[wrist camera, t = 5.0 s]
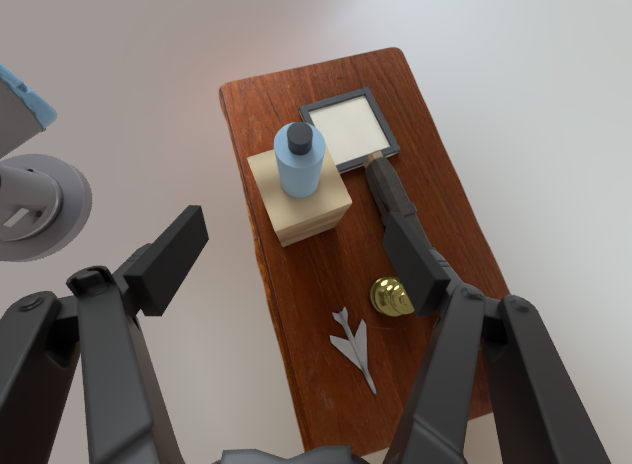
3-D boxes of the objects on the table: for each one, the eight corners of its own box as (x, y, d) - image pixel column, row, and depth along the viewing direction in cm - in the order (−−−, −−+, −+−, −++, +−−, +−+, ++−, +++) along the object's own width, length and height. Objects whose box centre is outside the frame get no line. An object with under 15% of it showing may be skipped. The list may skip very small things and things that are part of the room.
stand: (263, 196, 49) (246, 157, 33) (314, 178, 51) (321, 133, 35) (282, 247, 47) (275, 232, 31) (335, 227, 49) (352, 202, 33)
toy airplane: (357, 403, 42) (360, 410, 40) (312, 297, 45) (312, 298, 43) (392, 383, 43) (397, 389, 41) (346, 281, 46) (348, 281, 44)
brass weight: (362, 305, 46) (380, 312, 36) (374, 271, 47) (393, 269, 38) (396, 319, 46) (422, 330, 36) (406, 284, 47) (434, 286, 38)
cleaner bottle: (274, 169, 33) (263, 117, 22) (309, 158, 34) (315, 102, 23) (288, 203, 32) (283, 166, 21) (324, 190, 33) (336, 148, 22)
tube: (379, 167, 55) (443, 283, 47) (354, 179, 56) (413, 296, 48) (383, 140, 45) (467, 283, 36) (352, 155, 46) (427, 299, 37)
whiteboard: (299, 112, 54) (299, 106, 52) (366, 92, 56) (368, 86, 55) (328, 178, 51) (329, 174, 49) (397, 153, 53) (400, 149, 52)
